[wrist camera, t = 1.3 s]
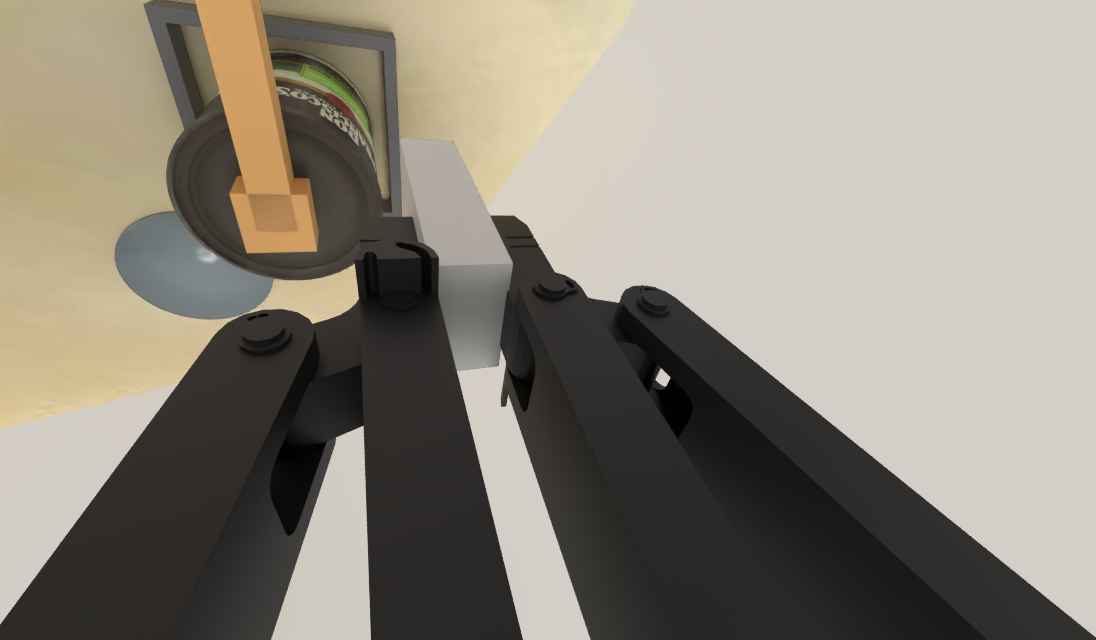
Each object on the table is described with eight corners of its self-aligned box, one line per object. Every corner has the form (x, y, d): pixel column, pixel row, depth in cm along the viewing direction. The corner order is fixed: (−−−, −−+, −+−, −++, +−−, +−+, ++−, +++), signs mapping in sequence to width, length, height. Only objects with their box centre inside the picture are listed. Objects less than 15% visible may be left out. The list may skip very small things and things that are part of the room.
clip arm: (252, 233, 24) (244, 259, 22) (118, -251, 13) (83, -279, 12) (318, 232, 25) (316, 257, 23) (241, -215, 15) (226, -234, 13)
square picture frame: (221, 206, 36) (214, 220, 34) (156, -2, 28) (143, 4, 26) (399, 208, 41) (402, 220, 39) (392, 32, 33) (395, 39, 31)
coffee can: (274, 11, 30) (239, 55, 20) (399, 124, 37) (419, 199, 27) (190, 123, 32) (122, 213, 22) (323, 209, 39) (315, 307, 29)
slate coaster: (146, 321, 40) (145, 323, 40) (89, 211, 33) (88, 212, 33) (284, 312, 44) (283, 314, 44) (257, 212, 37) (257, 213, 37)
